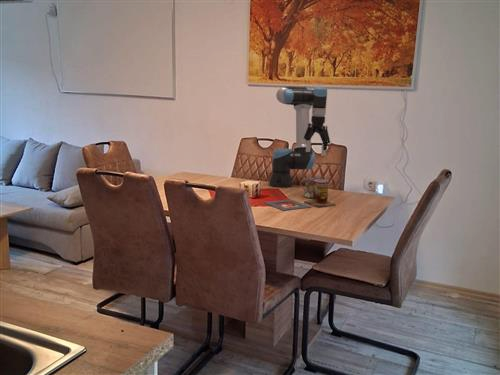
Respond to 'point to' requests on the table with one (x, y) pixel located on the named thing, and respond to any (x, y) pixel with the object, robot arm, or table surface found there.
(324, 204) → the walnut pad
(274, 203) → the frame
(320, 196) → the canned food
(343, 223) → the table surface
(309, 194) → the mug
